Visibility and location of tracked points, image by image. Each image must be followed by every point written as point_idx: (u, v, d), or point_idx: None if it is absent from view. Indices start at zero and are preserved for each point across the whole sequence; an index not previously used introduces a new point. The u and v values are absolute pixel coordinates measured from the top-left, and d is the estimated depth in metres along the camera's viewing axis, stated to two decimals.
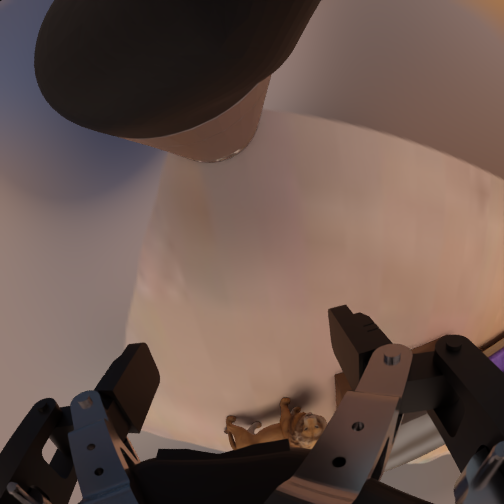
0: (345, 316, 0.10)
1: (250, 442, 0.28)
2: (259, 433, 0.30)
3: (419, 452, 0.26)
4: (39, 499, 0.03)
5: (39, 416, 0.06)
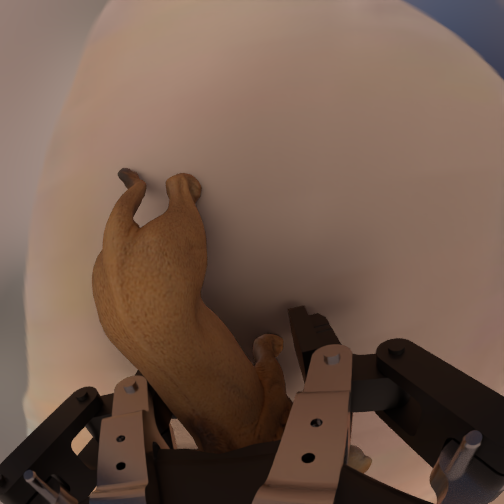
0: (300, 316, 0.11)
1: (195, 297, 0.07)
2: (214, 316, 0.08)
3: None
4: (56, 490, 0.04)
5: (76, 406, 0.07)
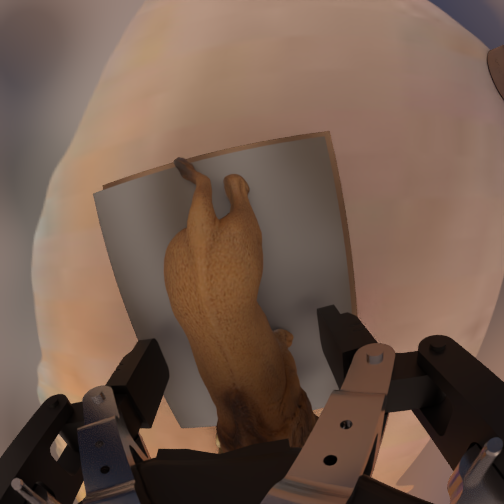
0: (332, 315, 0.10)
1: (259, 285, 0.08)
2: (258, 304, 0.10)
3: (168, 343, 0.15)
4: (44, 496, 0.03)
5: (49, 412, 0.06)
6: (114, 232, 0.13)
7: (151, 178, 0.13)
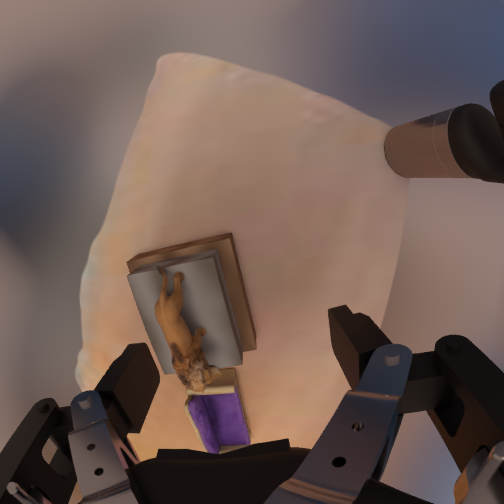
0: (345, 316, 0.10)
1: (178, 314, 0.30)
2: (182, 319, 0.31)
3: (159, 333, 0.36)
4: (39, 499, 0.03)
5: (39, 416, 0.06)
6: (136, 291, 0.35)
7: (149, 272, 0.35)
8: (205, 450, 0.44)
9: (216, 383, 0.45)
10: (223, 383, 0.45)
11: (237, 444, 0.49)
